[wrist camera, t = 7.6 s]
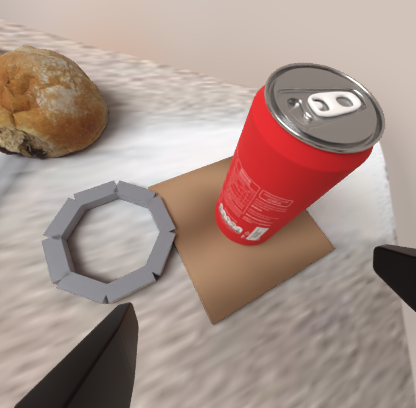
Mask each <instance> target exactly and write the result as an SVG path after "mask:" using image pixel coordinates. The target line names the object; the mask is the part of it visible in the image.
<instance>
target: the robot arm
mask: <svg viewBox="0 0 416 408" xmlns="http://www.w3.org/2000/svg"><path fill="white" fill-rule="evenodd" d="M373 268H374V271H375V272H376V273H377V275H378V276H379V277H380V278H381V279H382V280H383V281H384V282H385V283H386V284H387V285H388V286H389V287H390V288H391V289H392V290H393V291H394V292H395V293H396V294H397V295H398V296H399V297H400V298H401V299H402V300H403V301H404V302H405V303H407V304H408V305H409V306H410V307H411V308H412V309H413V310H414V311H415V312H416V249H413V248H407V247H400V246H394V245H387V244H386V245H381V246H377V247H375V248H374V253H373ZM137 342H138V321H137V317H136V314H135V311H134V307H133V305H132V303H130V302H129V303H124V304H120V305H118V306H117V307H116V308H115V309H114V310H113V311H112V312H111V313H110V314H109V315H108V316H107V317H106V318H105V319H104V320H102V321H101V322H100V323H99V324H98V325H97V326H96V327H95V328H94V329H93V330H92V331H91V332H90V333H89V334H88V335H87V336H86V337H85V338H84V339H83V340H82V341H81V342H80V343H79V344H78V345H77V346H76V347H75V348H74V349H73V350H72V351H71V352H70V353H69V354H68V355H67V356H66V357H65V358H64V359H63V360H62V361H61V362H59V363H58V364H57V365H56V366H55V367H54V368H53V369H52V370H51V371H50V372H49V373H48V374H47V375H46V376H45V377H44V378H43V379H42V380H41V381H40V382H39V383H38V384H37V385H36V386H35V387H34V388H33V389H32V390H31V391H30V392H29V393H28V394H27V395H26V396H25V397H24V398H23V399H22V400H21V401H20V402H18V403H17V404H16V405H15V407H14V408H130V403H131V397H132V391H133V385H134V379H135V368H136V355H137Z"/></svg>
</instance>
